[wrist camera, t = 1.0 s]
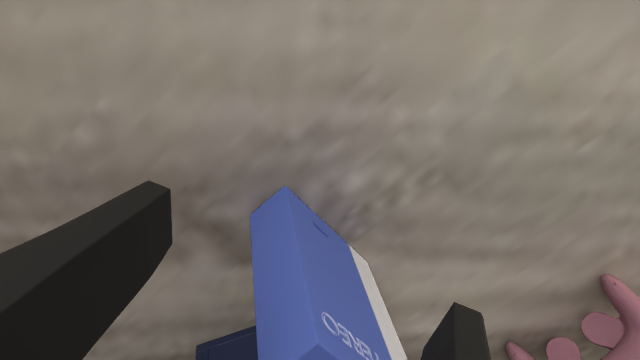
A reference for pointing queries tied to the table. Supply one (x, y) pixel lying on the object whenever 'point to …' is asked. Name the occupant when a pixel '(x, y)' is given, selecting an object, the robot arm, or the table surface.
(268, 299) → the walkman
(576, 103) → the table surface
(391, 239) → the table surface
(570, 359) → the video game controller
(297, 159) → the table surface
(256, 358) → the holder
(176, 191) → the table surface
